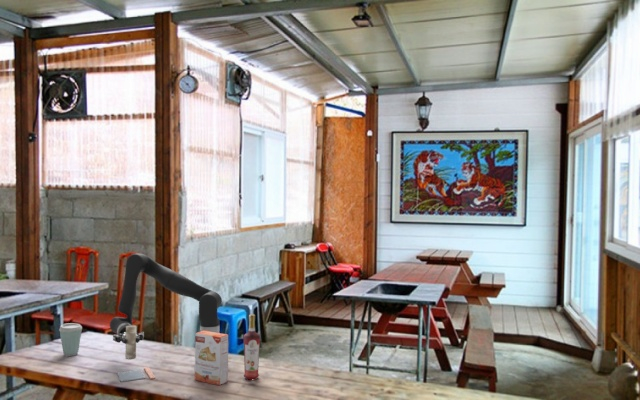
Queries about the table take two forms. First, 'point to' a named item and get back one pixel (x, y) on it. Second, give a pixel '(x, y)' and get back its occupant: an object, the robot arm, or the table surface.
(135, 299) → the robot arm
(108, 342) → the table surface
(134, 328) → the beige tall cylinder
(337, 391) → the table surface
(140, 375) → the mat
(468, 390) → the table surface
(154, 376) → the orange long flat bar
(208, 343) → the cracker box
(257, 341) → the liquor
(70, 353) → the disposable coffee cup
